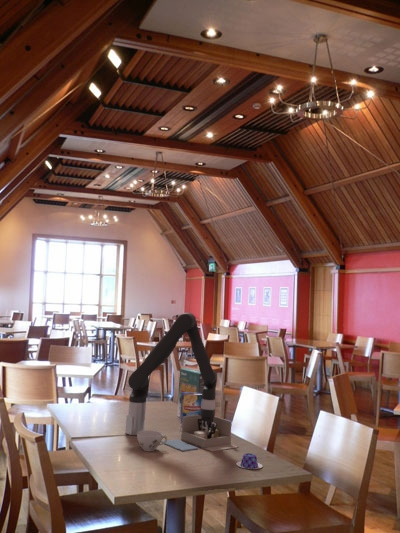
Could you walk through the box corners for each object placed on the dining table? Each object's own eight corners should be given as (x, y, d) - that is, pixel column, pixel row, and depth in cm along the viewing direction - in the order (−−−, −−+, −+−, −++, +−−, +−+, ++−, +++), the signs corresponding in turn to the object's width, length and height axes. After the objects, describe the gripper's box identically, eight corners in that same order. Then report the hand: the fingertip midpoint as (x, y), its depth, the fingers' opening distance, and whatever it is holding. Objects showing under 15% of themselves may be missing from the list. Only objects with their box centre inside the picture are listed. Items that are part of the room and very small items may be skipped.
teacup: (137, 453, 265) (138, 436, 265) (134, 446, 277) (135, 430, 277) (168, 453, 268) (170, 436, 269) (163, 446, 280) (165, 430, 281)
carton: (211, 451, 276) (213, 427, 276) (181, 439, 296) (182, 416, 297) (238, 447, 286) (239, 423, 287) (207, 436, 307) (208, 414, 307)
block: (198, 443, 288) (199, 432, 288) (193, 441, 291) (193, 430, 292) (218, 440, 296) (218, 430, 296) (212, 438, 299) (213, 428, 300)
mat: (182, 451, 273) (182, 450, 273) (161, 442, 287) (161, 441, 287) (198, 449, 279) (198, 447, 279) (177, 440, 293) (177, 439, 293)
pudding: (246, 471, 247) (246, 459, 248) (231, 464, 258) (231, 452, 258) (267, 469, 253) (268, 457, 254) (252, 461, 264) (252, 450, 264)
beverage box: (200, 435, 309) (203, 394, 310) (181, 435, 306) (184, 394, 308) (198, 432, 315) (200, 392, 317) (179, 432, 313) (181, 392, 314)
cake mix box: (204, 423, 340) (207, 373, 342) (196, 423, 337) (199, 373, 339) (185, 415, 358) (187, 368, 360) (177, 416, 355) (180, 368, 357)
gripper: (194, 405, 298) (192, 438, 297) (211, 410, 287) (209, 444, 286) (205, 404, 303) (203, 436, 301) (222, 409, 291) (220, 443, 290)
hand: (206, 440), depth 294 cm, fingers closed on block, 4 cm apart
